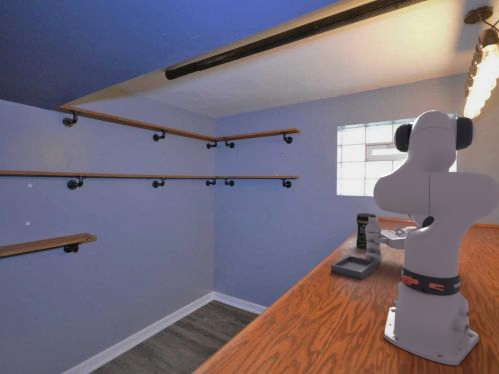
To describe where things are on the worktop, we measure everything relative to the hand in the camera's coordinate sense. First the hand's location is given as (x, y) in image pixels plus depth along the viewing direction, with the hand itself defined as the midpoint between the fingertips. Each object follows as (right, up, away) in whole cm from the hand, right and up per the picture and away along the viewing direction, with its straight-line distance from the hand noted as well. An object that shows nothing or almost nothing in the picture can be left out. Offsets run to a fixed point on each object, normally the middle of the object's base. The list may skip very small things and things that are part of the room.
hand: (371, 237), depth 112 cm
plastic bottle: (+1, -11, 0) cm, 11 cm away
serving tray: (-11, -11, -8) cm, 18 cm away
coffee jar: (+9, -10, +24) cm, 27 cm away
